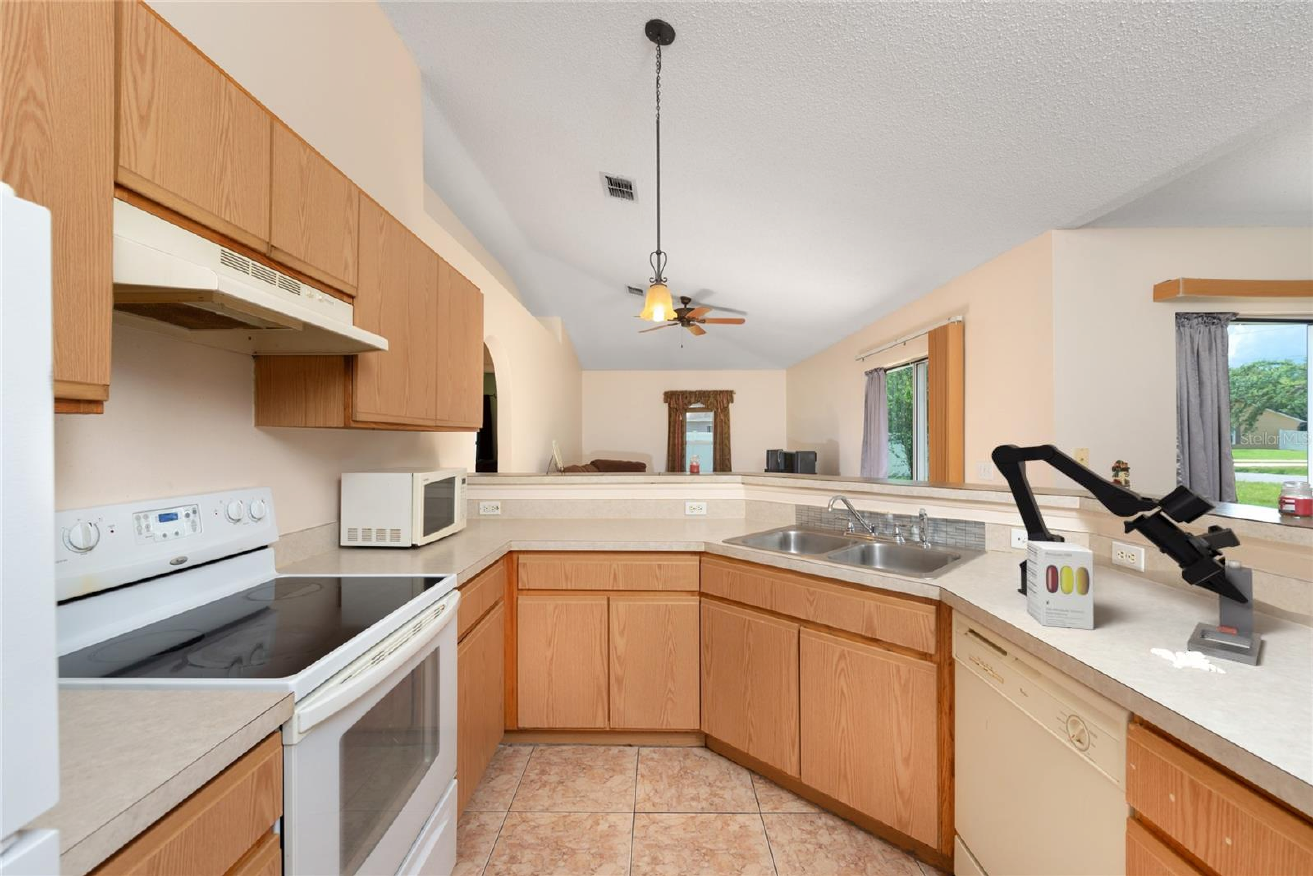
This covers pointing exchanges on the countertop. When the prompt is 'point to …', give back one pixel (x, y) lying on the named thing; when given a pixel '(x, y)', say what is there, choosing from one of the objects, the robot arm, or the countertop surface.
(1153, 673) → the countertop surface
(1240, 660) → the socket plate
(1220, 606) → the plug
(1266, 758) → the countertop surface
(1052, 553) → the supplement box
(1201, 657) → the acanthus leaf ornament
